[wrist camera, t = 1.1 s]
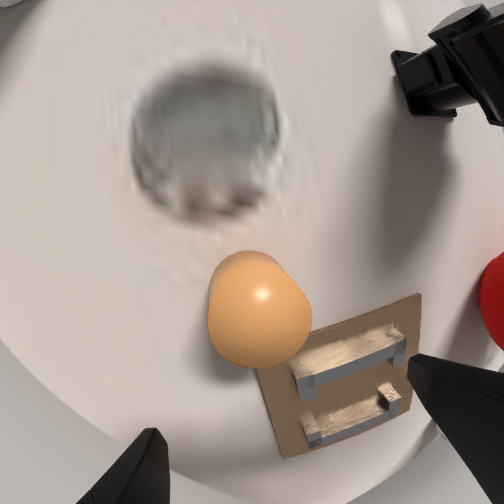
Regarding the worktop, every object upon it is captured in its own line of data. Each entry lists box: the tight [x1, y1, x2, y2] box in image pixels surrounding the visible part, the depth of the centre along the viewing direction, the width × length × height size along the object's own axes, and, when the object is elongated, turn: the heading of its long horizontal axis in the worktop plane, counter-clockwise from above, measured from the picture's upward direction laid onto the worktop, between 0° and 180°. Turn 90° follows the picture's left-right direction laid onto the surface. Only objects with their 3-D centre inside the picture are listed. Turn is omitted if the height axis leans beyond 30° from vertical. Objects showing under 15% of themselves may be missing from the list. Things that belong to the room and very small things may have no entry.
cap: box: [208, 251, 312, 368], centre depth 17 cm, size 6×6×6 cm
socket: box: [256, 293, 421, 459], centre depth 23 cm, size 16×16×2 cm
